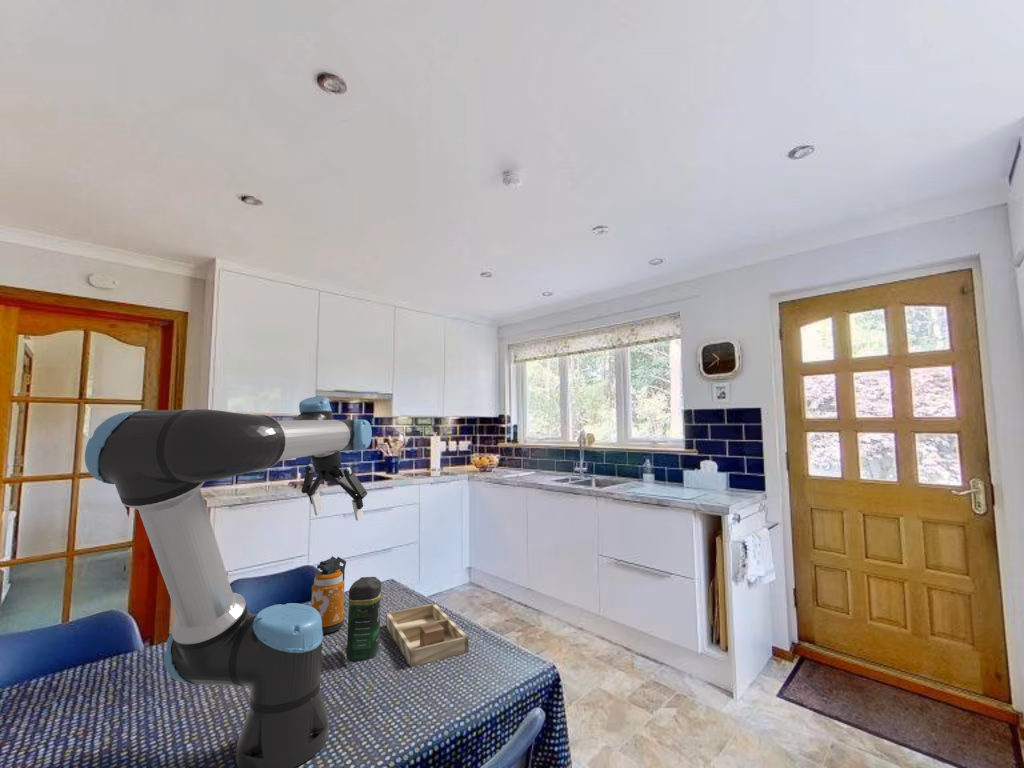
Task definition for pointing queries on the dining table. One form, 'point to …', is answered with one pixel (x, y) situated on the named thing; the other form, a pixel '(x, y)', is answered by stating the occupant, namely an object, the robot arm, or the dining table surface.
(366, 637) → the coffee jar
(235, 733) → the dining table surface
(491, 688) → the dining table surface
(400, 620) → the slot rack
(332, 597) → the canister
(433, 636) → the walnut block
